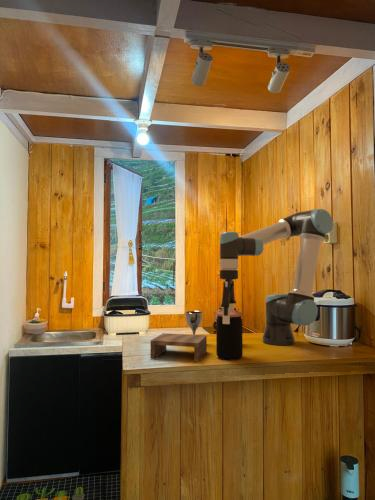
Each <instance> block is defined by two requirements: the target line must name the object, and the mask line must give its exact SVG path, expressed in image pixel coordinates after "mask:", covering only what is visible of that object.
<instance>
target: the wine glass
mask: <svg viewBox="0 0 375 500" xmlns="http://www.w3.org/2000/svg"><path fill="white" fill-rule="evenodd" d="M185 321H186V324H187V326H188V327H189V329H191V331H192V335H196V331H197V330H198V329H199V327H200V325H201V324H202V321H203V311H200V310H188V311H185Z"/></svg>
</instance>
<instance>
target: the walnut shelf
mask: <svg viewBox="0 0 375 500" xmlns="http://www.w3.org/2000/svg"><path fill="white" fill-rule="evenodd" d="M207 338H208V336H207V335H205V334H195V335H193V334H187V333H185V334H184V333H169V332H168V333H167V332H165V333H161V334H159V335H158V336H156V337H153V338H152V339H150V355H149V356H150V359H154V358H156V357H158V356H159V355H161V354H162V353H163V352H165V351H166V350H167V346H172V347H190V348H191V347H192V348H194V349H193V350H194V356H193V357H194V361H195V362H199V361H201V359H202V358H203V357H204V355H205V354H206V353H207V349H208V348H207V347H208V345H207V343H208V342H207Z"/></svg>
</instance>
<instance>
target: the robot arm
mask: <svg viewBox="0 0 375 500" xmlns="http://www.w3.org/2000/svg"><path fill="white" fill-rule="evenodd" d="M333 228H334V220H333V217H332V215H331V214H330V212H329V211H327V209H323V208H314V209H310V210H305V211H299V212H296V213H293V214H291V215H288V216H286V217H284V218H281V219H279V220H278V221H277V222H276V223H273V224H271V225H268V226H265V227H263V228H260V229H257V230H254V231H251V232H248V233H245V234H244V235H240V236H239V233H238V232H236V231H223V232H221V233H220V236H219V261H218V264H219V268H220V271H219V279H220V280H224V281H223V282H222V286H223V287H222V288H223V289H222V298H221V304H220V308H223V324H230V311H235V304H237V300H236V299H235V280H237V279H239V271H238V269H239V256H240V257H241V256H242V257H249V256H253V257H255V256H256V257H257V256H260V255H261V254H262V253H263V251H264V245H266V244H269V243H272V242H274V241H278V240H280V239H282V238H283V239H287V238H292V237H299V238H300V239H301V242H300V246H299V252H298V253H299V254H298V257H297V261H296V262H297V263H296V267H295V273H294V279H293V284H292V289H291V290H290V291H288V292H287V293H283V294H281V293H279V294H270V295H269V294H268V295H267V296H266V297H265V323H266V324H265V328H264V331H263V335H262V343H263V344H268V345H274V346H290V345H293V344H295V339H296V338H295V335H294V333H293V330H292V326H291V325H292V324H293V325H295V326H296V325H297V326H309V325H311V324H312V323H314V322H315V320H316V319H317V316H318V315H319V314H318V313H319V312H318V311H319V307H317V306H318V305H317V303H316V302H315V296H314V295H313V288H314V282H315V277H316V271H317V265H318V260H319V254H320V250H321V243H322V242H324V241H325V240H326V235H327V234H330V233H331V232H332V230H333Z"/></svg>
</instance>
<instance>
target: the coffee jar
mask: <svg viewBox="0 0 375 500" xmlns="http://www.w3.org/2000/svg"><path fill="white" fill-rule="evenodd" d="M234 311H235V310H234ZM234 311H230V324H223V312H218V311H217V312H216V313H215V315H216V322H215V323H216V326H215V330H216V336H215V337H216V338H215V339H216V342H215V343H216V350H215V351H216V356H217V358H218V359H220V360H225V361H237V360H240V359H242V358H243V357H242V356H244V352H243V346H244V345H243V318H242V316H243V312H241V311H235V312H234ZM217 316H218V317H217Z"/></svg>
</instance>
